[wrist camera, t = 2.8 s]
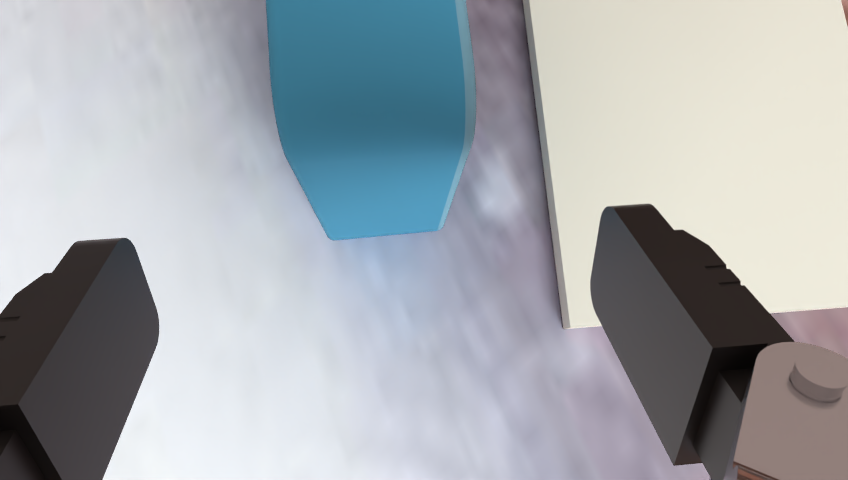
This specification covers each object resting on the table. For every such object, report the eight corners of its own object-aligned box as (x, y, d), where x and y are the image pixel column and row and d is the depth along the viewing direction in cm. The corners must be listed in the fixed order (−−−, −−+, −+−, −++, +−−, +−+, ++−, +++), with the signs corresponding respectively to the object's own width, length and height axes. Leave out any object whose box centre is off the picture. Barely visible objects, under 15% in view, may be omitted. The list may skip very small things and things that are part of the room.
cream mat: (804, -74, 28) (819, -89, 27) (893, 303, 25) (914, 301, 24) (514, -63, 28) (519, -79, 27) (563, 329, 24) (570, 327, 23)
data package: (311, -14, 27) (245, -313, 15) (412, -21, 27) (425, -319, 15) (331, 248, 24) (271, 139, 12) (441, 238, 25) (484, 122, 13)
